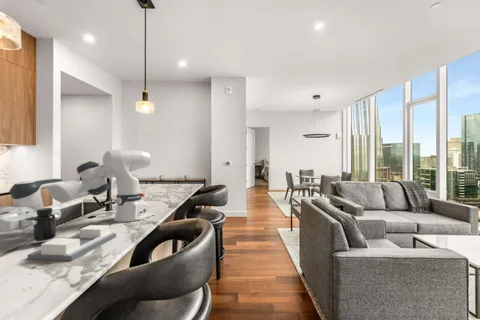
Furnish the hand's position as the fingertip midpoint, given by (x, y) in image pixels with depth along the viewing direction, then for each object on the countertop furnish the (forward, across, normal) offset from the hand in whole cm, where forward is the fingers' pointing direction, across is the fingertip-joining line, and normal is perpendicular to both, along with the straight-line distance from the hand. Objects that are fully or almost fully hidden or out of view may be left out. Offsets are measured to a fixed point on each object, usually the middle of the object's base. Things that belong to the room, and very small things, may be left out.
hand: (46, 220), depth 94 cm
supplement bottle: (-1, 0, -8) cm, 8 cm away
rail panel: (+15, 0, -9) cm, 18 cm away
